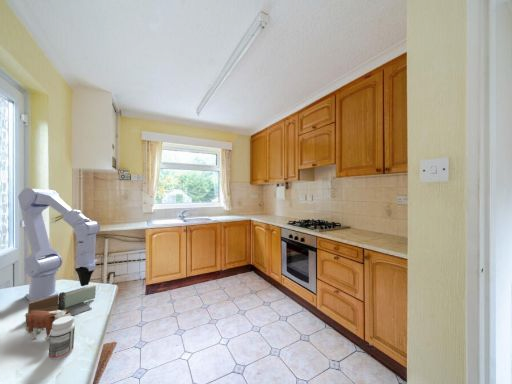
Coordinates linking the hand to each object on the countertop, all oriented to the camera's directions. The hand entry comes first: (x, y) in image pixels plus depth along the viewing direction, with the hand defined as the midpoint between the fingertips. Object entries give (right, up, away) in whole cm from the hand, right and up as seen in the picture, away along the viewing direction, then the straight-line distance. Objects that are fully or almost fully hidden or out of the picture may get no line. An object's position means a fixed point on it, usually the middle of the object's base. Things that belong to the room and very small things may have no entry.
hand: (84, 285), depth 82 cm
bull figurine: (+10, -4, -24) cm, 26 cm away
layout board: (0, -4, -11) cm, 12 cm away
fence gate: (+3, -4, -5) cm, 7 cm away
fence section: (-2, -4, -13) cm, 14 cm away
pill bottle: (+19, -4, -30) cm, 35 cm away
